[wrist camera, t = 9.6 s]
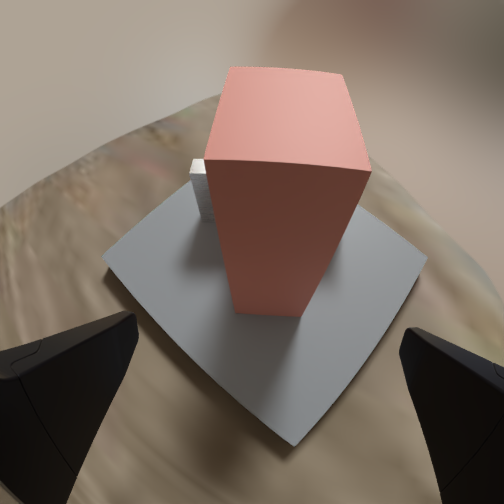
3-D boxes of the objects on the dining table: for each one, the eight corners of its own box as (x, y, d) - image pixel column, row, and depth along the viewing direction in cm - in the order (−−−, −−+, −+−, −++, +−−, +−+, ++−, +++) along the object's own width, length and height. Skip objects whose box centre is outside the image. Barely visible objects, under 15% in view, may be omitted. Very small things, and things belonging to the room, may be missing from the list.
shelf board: (419, 266, 21) (427, 257, 19) (291, 443, 15) (294, 446, 14) (249, 149, 26) (249, 137, 25) (109, 265, 21) (101, 256, 20)
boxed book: (301, 316, 18) (371, 171, 6) (235, 313, 18) (203, 159, 7) (301, 244, 20) (342, 74, 9) (242, 241, 20) (230, 66, 9)
